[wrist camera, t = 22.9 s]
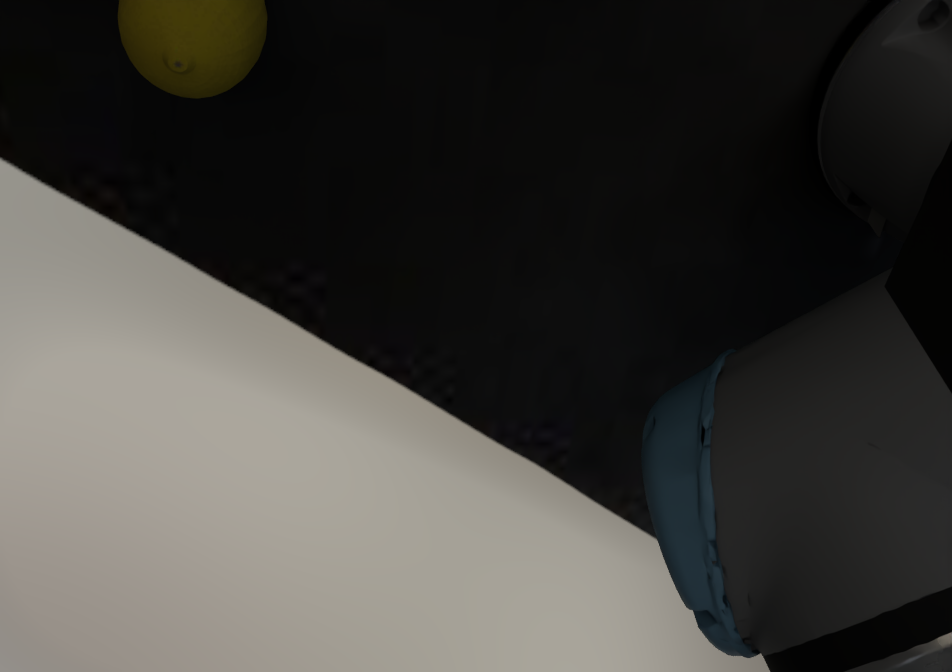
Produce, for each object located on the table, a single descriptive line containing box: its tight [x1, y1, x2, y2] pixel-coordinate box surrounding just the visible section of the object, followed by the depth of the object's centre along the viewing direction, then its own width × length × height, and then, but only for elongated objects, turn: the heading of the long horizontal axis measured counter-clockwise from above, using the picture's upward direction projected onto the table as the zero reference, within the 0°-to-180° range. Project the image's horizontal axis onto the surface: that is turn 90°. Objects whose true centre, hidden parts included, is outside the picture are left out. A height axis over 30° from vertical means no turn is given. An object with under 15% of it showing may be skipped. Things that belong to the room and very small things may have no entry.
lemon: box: [118, 0, 267, 98], centre depth 35 cm, size 6×6×8 cm
